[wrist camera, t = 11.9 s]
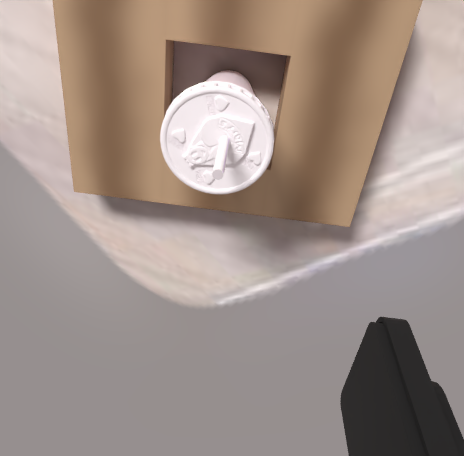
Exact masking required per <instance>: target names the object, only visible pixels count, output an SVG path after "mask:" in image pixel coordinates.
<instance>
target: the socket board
mask: <svg viewBox="0 0 464 456" xmlns="http://www.w3.org/2000/svg"><path fill="white" fill-rule="evenodd" d="M422 1H423V0H53V8H54V17H55V26H56V35H57V44H58V53H59V62H60V70H61V79H62V88H63V97H64V106H65V115H66V124H67V133H68V142H69V151H70V160H71V169H72V178H73V186H74V192H80V193H88V194H95V195H103V196H111V197H119V198H127V199H135V200H142V201H150V202H158V203H166V204H174V205H182V206H189V207H197V208H205V209H213V210H221V211H228V212H236V213H244V214H252V215H260V216H268V217H275V218H283V219H291V220H299V221H307V222H315V223H322V224H330V225H338V226H346V227H350V224H351V221H352V218H353V215H354V212H355V209H356V206H357V203H358V200H359V196H360V193H361V190H362V187H363V184H364V181H365V178H366V175H367V172H368V168H369V165H370V162H371V159H372V156H373V153H374V150H375V147H376V144H377V141H378V137H379V134H380V131H381V128H382V125H383V122H384V119H385V116H386V113H387V109H388V106H389V103H390V100H391V97H392V94H393V91H394V88H395V85H396V81H397V78H398V75H399V72H400V69H401V66H402V63H403V60H404V57H405V54H406V50H407V47H408V44H409V41H410V38H411V35H412V32H413V29H414V26H415V22H416V19H417V16H418V13H419V10H420V7H421V4H422ZM174 41H181V42H189V43H197V44H204V45H212V46H219V47H227V48H235V49H242V50H250V51H257V52H265V53H272V54H280V55H287V59H286V65H285V71H284V76H283V82H282V88H281V93H280V99H279V105H278V111H277V116H276V122H275V128H274V146H273V153H272V157H271V160H270V163H269V165H268V167H267V168H266V170H265V172H264V173H263V174H262V176H261V177H260V178H259V179H258V180H257V181H255V182H254V183H253V184H251V185H250V186H248V187H247V188H245V189H243V190H240V191H237V192H234V193H229V194H209V193H205V192H201V191H198V190H196V189H193V188H191V187H190V186H188V185H186V184H185V183H183V182H182V181H181V180H180V179H179V178H177V176H176V175H175V174H174V173H173V172H172V171H171V169H170V168H169V166H168V165H167V163H166V161H165V159H164V156H163V153H162V149H161V143H160V132H161V126H162V123H163V120H164V117H165V114H166V111H167V110H168V108H169V106H170V105H171V103H172V84H173V53H174Z"/></svg>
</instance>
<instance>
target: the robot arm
mask: <svg viewBox="0 0 464 456" xmlns="http://www.w3.org/2000/svg"><path fill="white" fill-rule="evenodd" d="M341 410H342V416H343V423H344V429H345V435H346V440H347V447H348V453H349V456H464V439H463V437H462V434H461V432H460V430H459V427H458V425H457V422H456V420H455V417H454V415H453V412H452V410H451V407H450V405H449V402H448V400H447V398H446V395H445V393H444V391H443V389H442V388H441V386H439V384H438V383H436V382H433V381H431V379H430V377H429V374H428V372H427V369H426V367H425V364H424V361H423V359H422V356H421V354H420V351H419V348H418V346H417V343H416V341H415V338H414V335H413V333H412V330H411V328H410V325H409V323H408V322H407V321H406V320H403V319H395V318H386V317H379V318H378V320H377V321H376V323H375V322H370V323H369V325H368V327H367V330H366V333H365V335H364V337H363V340H362V343H361V345H360V348H359V350H358V352H357V355H356V357H355V360H354V362H353V365H352V367H351V370H350V373H349V375H348V378H347V380H346V382H345V385H344V387H343V390H342V393H341Z"/></svg>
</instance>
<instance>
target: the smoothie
mask: <svg viewBox="0 0 464 456" xmlns="http://www.w3.org/2000/svg"><path fill="white" fill-rule="evenodd" d="M160 143H161V149H162V153H163V156H164V159H165V161H166V163H167V165H168V166H169V168H170V169H171V171H172V172H173V173H174V174H175V175H176V176H177V178H179V179H180V180H181V181H182V182H183V183H185V184H186V185H188V186H190V187H191V188H193V189H196V190H198V191H201V192H205V193H209V194H229V193H234V192H237V191H240V190H243V189H245V188H247V187H248V186H250V185H251V184H253V183H254V182H255V181H257V180H258V179H259V178H260V177H261V176H262V174H263V173H264V172H265V170H266V168H267V167H268V165H269V163H270V160H271V157H272V153H273V146H274V130H273V123H272V121H271V118H270V116H269V113H268V111H267V109H266V108H265V107H264V105H263V104H262V103H261V102H260V100H259V99H258V98H257V97H256V96H255V94H254V92H253V89H252V87H251V85H250V83H249V81H248V80H247V79H246V78H245V77H244V76H243V75H242V74H240V73H238V72H236V71H232V70H224V71H220V72H218V73H216V74H214V75H213V76H211V77H210V78H209V79H208V80H206V81H205V82H203V83H198V84H196V85H194V86H192V87H190V88H188V89H185V90H184V91H183V92H182V93H181V94H180V95H178V96H177V97H176V98H175V99H174V100H173V102H172V103H171V105H170V106H169V108H168V110H167V111H166V114H165V117H164V120H163V123H162V126H161V132H160Z"/></svg>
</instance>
